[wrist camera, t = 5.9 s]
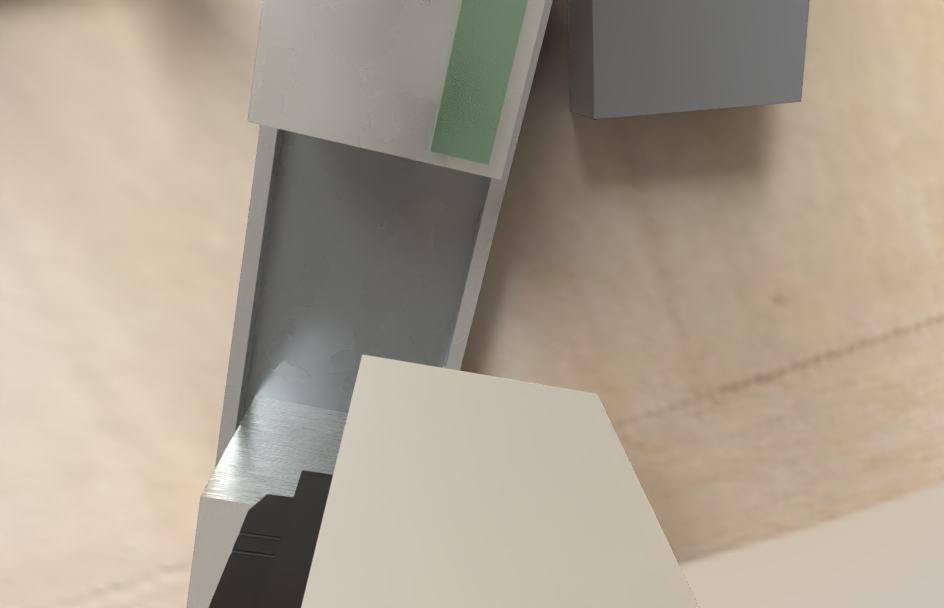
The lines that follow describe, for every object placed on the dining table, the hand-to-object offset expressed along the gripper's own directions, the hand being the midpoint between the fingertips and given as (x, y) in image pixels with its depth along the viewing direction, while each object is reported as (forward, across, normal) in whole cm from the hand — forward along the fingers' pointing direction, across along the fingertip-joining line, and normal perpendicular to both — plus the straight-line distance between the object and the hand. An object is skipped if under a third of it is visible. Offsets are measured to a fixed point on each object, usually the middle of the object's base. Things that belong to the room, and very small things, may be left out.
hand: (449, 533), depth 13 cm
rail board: (+17, +3, +1) cm, 17 cm away
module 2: (+17, -6, -11) cm, 21 cm away
